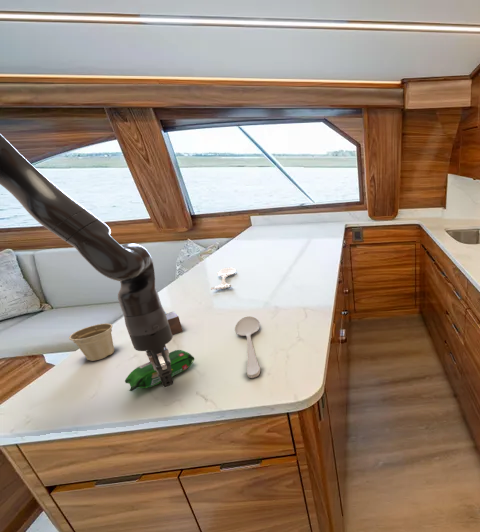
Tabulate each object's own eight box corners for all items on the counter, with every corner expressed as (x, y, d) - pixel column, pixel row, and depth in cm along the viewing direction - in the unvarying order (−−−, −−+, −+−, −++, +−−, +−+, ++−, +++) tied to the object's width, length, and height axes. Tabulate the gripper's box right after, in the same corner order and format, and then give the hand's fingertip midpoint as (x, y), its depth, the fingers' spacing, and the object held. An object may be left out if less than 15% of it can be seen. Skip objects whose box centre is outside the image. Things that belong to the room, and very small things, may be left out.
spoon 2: (211, 294, 135) (209, 287, 134) (219, 273, 163) (217, 267, 162) (233, 291, 139) (231, 284, 138) (237, 270, 167) (236, 264, 165)
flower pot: (76, 357, 92) (65, 333, 89) (116, 343, 99) (107, 320, 96) (83, 368, 87) (72, 343, 84) (125, 352, 94) (116, 328, 91)
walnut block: (162, 338, 101) (157, 322, 99) (158, 332, 105) (153, 317, 103) (182, 331, 106) (178, 316, 104) (178, 325, 109) (174, 311, 107)
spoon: (235, 325, 108) (233, 319, 107) (259, 319, 112) (257, 313, 111) (239, 387, 80) (237, 379, 79) (271, 376, 83) (269, 369, 82)
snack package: (123, 389, 78) (116, 373, 76) (188, 357, 91) (183, 343, 89) (134, 400, 75) (128, 383, 73) (200, 365, 87) (196, 350, 85)
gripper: (124, 323, 73) (145, 380, 79) (132, 343, 65) (155, 406, 70) (162, 312, 79) (179, 367, 84) (174, 329, 70) (192, 389, 76)
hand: (168, 384), depth 77 cm, fingers closed
